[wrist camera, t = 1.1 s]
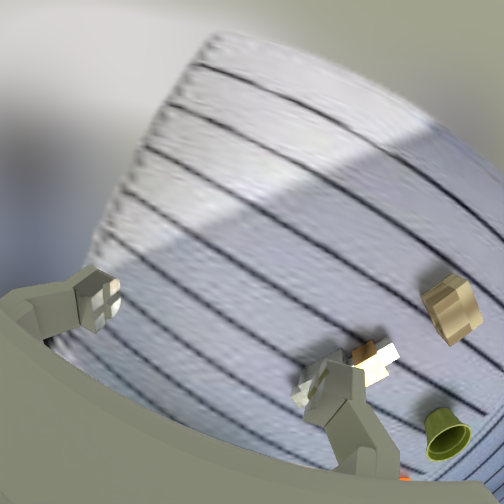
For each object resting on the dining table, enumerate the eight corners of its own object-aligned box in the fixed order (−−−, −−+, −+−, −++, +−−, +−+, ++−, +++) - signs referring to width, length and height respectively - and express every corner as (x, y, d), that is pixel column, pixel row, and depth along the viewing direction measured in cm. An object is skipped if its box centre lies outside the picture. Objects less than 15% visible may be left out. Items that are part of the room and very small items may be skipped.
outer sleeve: (359, 378, 48) (362, 395, 42) (320, 397, 50) (319, 416, 44) (341, 347, 48) (342, 363, 42) (301, 368, 50) (298, 385, 44)
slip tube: (396, 350, 46) (403, 365, 40) (303, 399, 50) (299, 417, 45) (385, 330, 46) (392, 344, 40) (290, 382, 51) (286, 399, 45)
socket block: (468, 310, 42) (483, 321, 36) (437, 332, 44) (450, 346, 38) (452, 273, 42) (467, 280, 36) (420, 296, 44) (432, 306, 38)
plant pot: (427, 399, 45) (439, 425, 37) (464, 400, 43) (479, 423, 35) (410, 435, 46) (418, 462, 38) (447, 435, 44) (458, 460, 36)
